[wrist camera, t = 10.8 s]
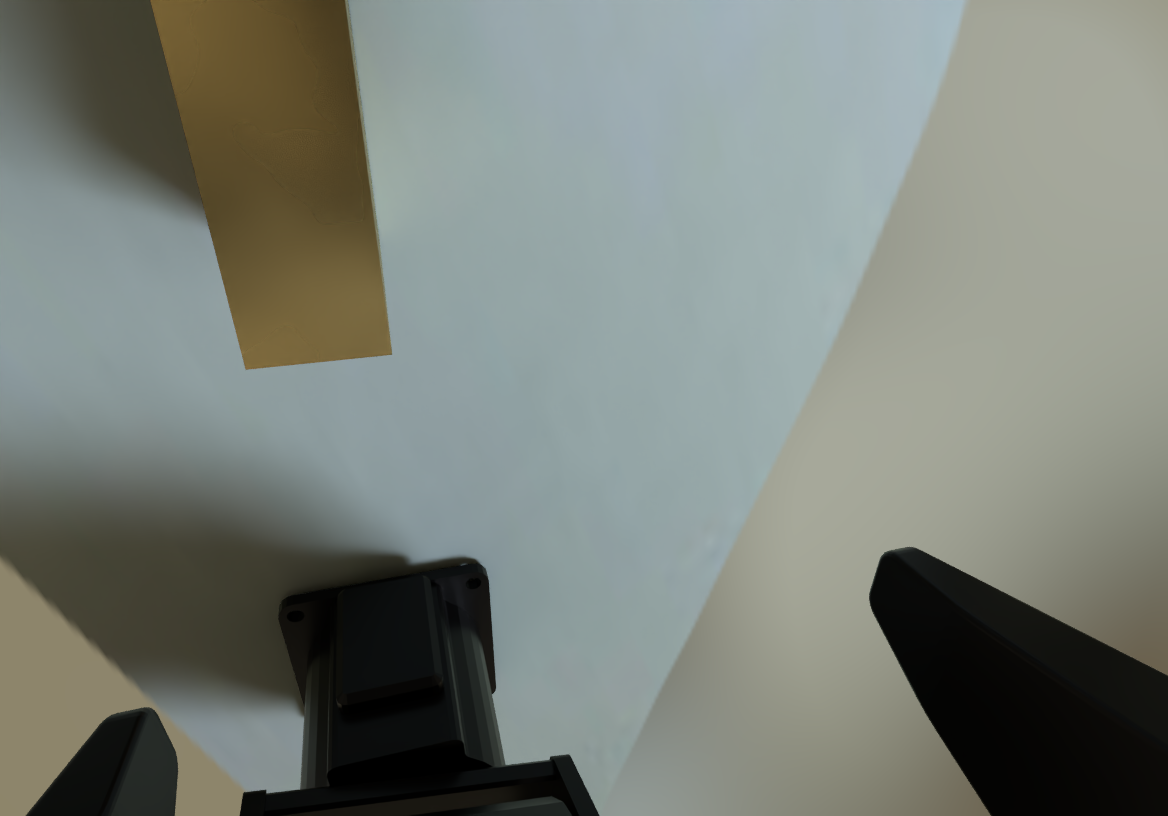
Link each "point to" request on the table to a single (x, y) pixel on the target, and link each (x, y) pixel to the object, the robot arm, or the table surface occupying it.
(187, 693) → the table surface
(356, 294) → the square hoop paddle
